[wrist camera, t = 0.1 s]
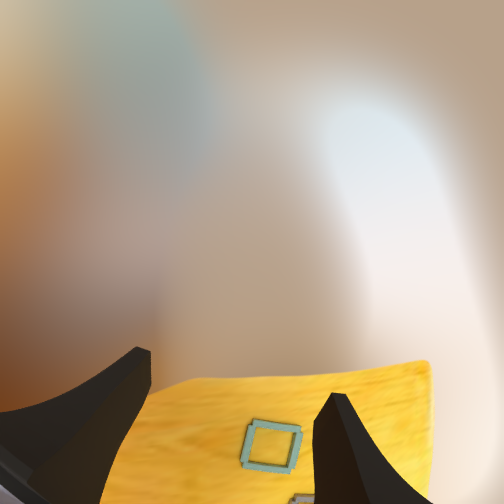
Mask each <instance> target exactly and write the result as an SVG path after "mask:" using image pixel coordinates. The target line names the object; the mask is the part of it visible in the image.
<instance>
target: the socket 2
mask: <svg viewBox="0 0 504 504" xmlns="http://www.w3.org/2000/svg"><path fill="white" fill-rule="evenodd" d="M314 496H315V494H295V495H294V498H293V499H290V501H289V504H298V502H314Z"/></svg>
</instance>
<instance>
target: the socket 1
mask: <svg viewBox="0 0 504 504" xmlns="http://www.w3.org/2000/svg"><path fill="white" fill-rule="evenodd" d="M256 427H261V428H268V429H274V430H281V431H289V432H294V435H293V440H292V444H291V448H290V452H289V457H288V461H287V464H286V466H282V465H274V464H266V463H259V462H252V461H248V458H249V454H250V450H251V446H252V442H253V438H254V434H255V429H256ZM300 431H301V426H299V425H291V424H283V423H276V422H270V421H264V420H258V419H253V422H252V425H250V424H248V428H247V432H246V437H245V441H244V445H243V449H242V453H241V457H240V462H243V463H242V468H244V469H251V470H257V471H265V472H273V473H282V474H290V472H291V469H295V466H296V462H297V458H298V454H299V450H300V446H301V441H302V437H303V433H302V432H300Z"/></svg>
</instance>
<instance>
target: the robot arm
mask: <svg viewBox="0 0 504 504" xmlns="http://www.w3.org/2000/svg"><path fill="white" fill-rule="evenodd" d="M150 386H151V353H150V351H148V350H145V349H142V348H140V347H135V348H133V349H132V350H131V351H129V352H128V353H127V354H125V355H124V356H123V357H121V358H120V359H119V360H117V361H116V362H115V363H113V364H112V365H110V366H109V367H108V368H106V369H105V370H103V371H102V372H100V373H99V374H97V375H96V376H94V377H93V378H91V379H89V380H88V381H86V382H84V383H83V384H81V385H79V386H78V387H76V388H74V389H72V390H70V391H68V392H66V393H64V394H62V395H60V396H57V397H55V398H53V399H50V400H47V401H45V402H42V403H39V404H37V405H33V406H30V407H25V408H22V409H18V410H14V411H8V412H0V504H99V503H100V499H101V496H102V493H103V489H104V486H105V483H106V480H107V478H108V475H109V472H110V469H111V467H112V464H113V461H114V459H115V456H116V454H117V451H118V449H119V447H120V445H121V443H122V442H123V440H124V438H125V436H126V434H127V433H128V431H129V429H130V427H131V426H132V424H133V422H134V420H135V419H136V417H137V415H138V413H139V411H140V410H141V408H142V406H143V404H144V402H145V399H146V397H147V394H148V392H149V389H150ZM312 447H313V464H314V482H315V496H314V504H433V503H431V502H430V501H428V500H427V499H426V498H424V497H423V496H422V495H420V494H419V493H418V492H417V491H416V490H414V489H413V488H412V487H411V486H410V485H409V484H408V483H407V482H406V481H405V480H404V479H403V478H402V477H401V476H400V475H399V474H398V473H397V472H396V471H395V469H394V468H393V467H392V466H391V465H390V464H389V462H388V461H387V460H386V459H385V457H384V456H383V455H382V453H381V452H380V450H379V449H378V447H377V446H376V445H375V443H374V442H373V440H372V438H371V437H370V435H369V434H368V432H367V430H366V429H365V427H364V425H363V424H362V422H361V420H360V418H359V417H358V415H357V413H356V411H355V410H354V408H353V406H352V404H351V403H350V401H349V399H348V397H347V396H346V394H341V393H331V395H330V396H329V398H328V399H327V401H326V403H325V404H324V406H323V408H322V409H321V411H320V412H319V414H318V416H317V417H316V419H315V420H314V425H313V440H312Z"/></svg>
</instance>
